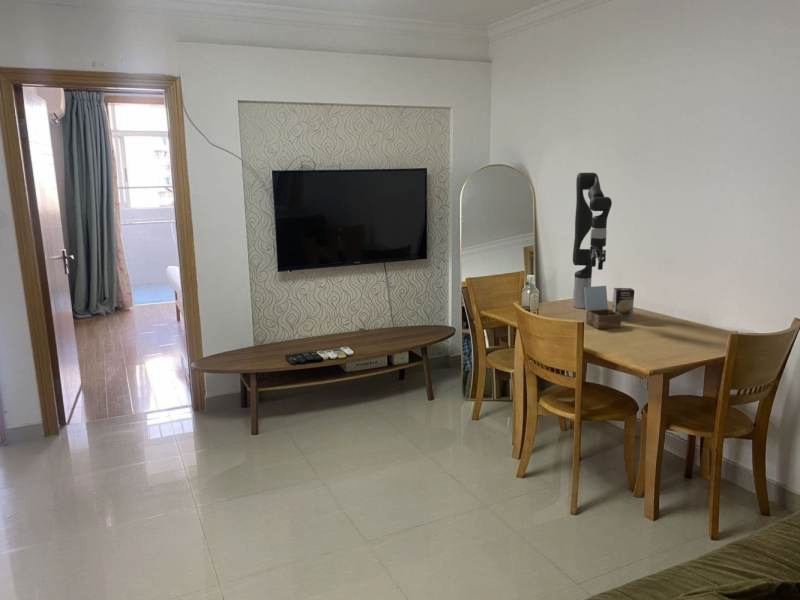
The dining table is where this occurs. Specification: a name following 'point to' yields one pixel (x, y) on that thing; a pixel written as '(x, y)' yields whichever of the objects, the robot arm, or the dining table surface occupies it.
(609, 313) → the box
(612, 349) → the dining table surface
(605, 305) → the lid
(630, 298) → the coffee box
